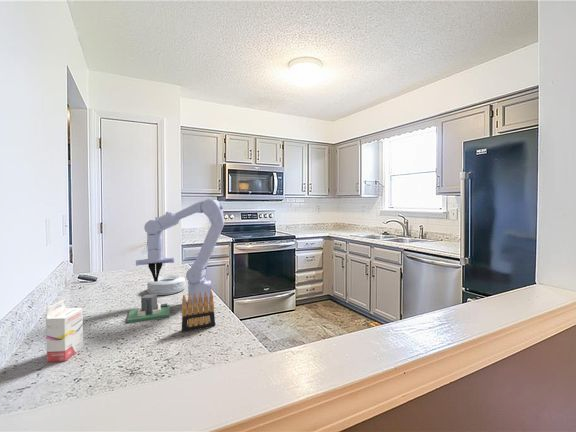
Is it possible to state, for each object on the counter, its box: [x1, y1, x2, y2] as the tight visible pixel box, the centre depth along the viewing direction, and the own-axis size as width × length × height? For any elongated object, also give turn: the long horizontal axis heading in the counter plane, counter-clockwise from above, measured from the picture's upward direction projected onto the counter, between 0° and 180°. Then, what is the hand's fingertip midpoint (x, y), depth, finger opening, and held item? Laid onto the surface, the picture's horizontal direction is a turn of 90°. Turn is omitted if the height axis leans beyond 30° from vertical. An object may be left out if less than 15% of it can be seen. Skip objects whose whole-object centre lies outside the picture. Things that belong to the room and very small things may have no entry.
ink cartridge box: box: [45, 298, 84, 363], centre depth 85 cm, size 9×5×15 cm, turn 5°
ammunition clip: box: [181, 290, 216, 333], centre depth 102 cm, size 11×2×12 cm, turn 115°
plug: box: [140, 293, 158, 315], centre depth 114 cm, size 4×5×6 cm
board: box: [126, 303, 171, 324], centre depth 115 cm, size 14×12×2 cm
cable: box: [146, 274, 187, 296], centre depth 146 cm, size 18×18×6 cm
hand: (155, 281), depth 127 cm, fingers closed
